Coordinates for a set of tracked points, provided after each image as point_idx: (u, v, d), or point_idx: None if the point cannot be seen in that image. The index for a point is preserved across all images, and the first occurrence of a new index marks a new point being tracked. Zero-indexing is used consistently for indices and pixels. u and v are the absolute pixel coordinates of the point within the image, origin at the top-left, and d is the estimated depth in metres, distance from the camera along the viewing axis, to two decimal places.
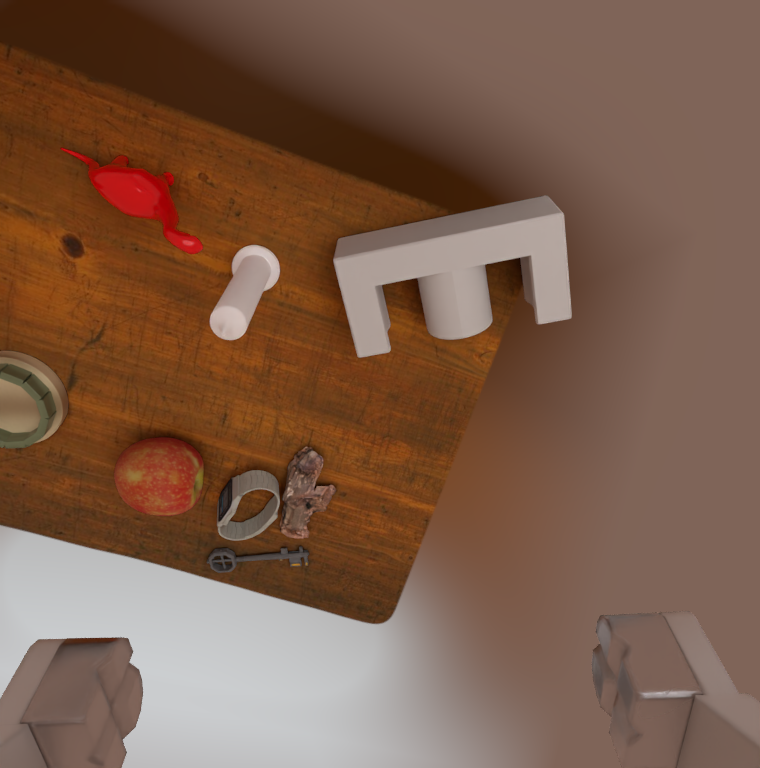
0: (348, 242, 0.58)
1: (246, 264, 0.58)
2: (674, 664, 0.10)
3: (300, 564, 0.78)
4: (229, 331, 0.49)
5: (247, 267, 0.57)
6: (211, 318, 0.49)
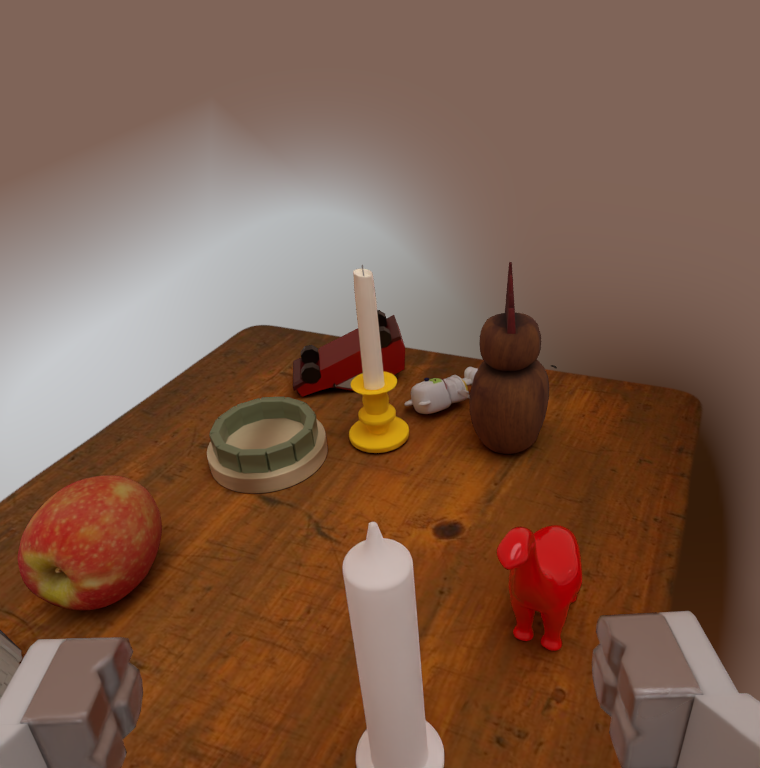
0: None
1: None
2: (674, 664, 0.10)
3: None
4: (369, 546, 0.25)
5: (423, 709, 0.31)
6: (390, 539, 0.27)
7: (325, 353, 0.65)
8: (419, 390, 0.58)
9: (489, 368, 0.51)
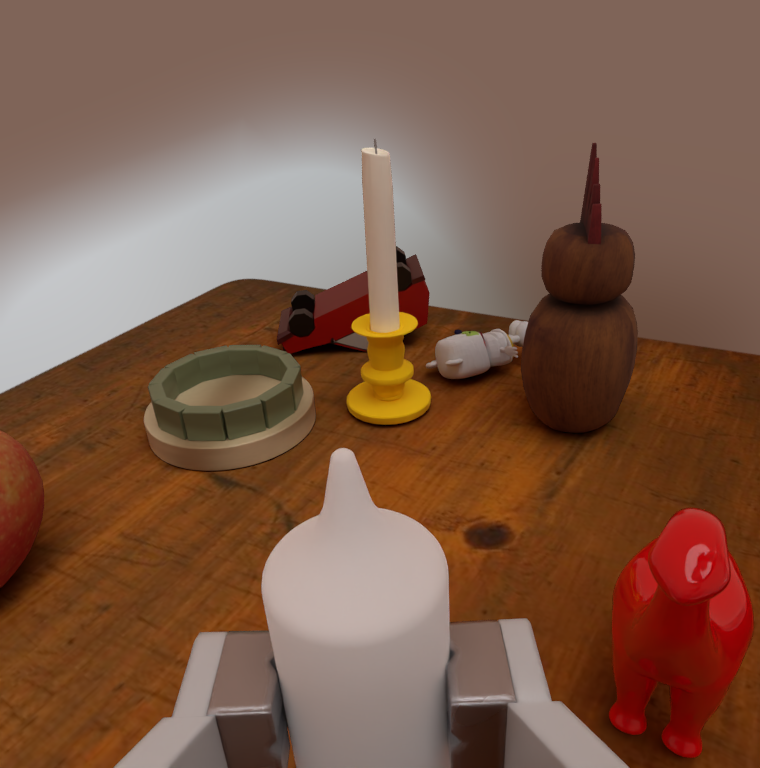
0: None
1: None
2: (496, 672, 0.10)
3: None
4: (332, 517, 0.09)
5: None
6: (393, 512, 0.11)
7: (323, 299, 0.49)
8: (448, 344, 0.42)
9: (554, 302, 0.35)
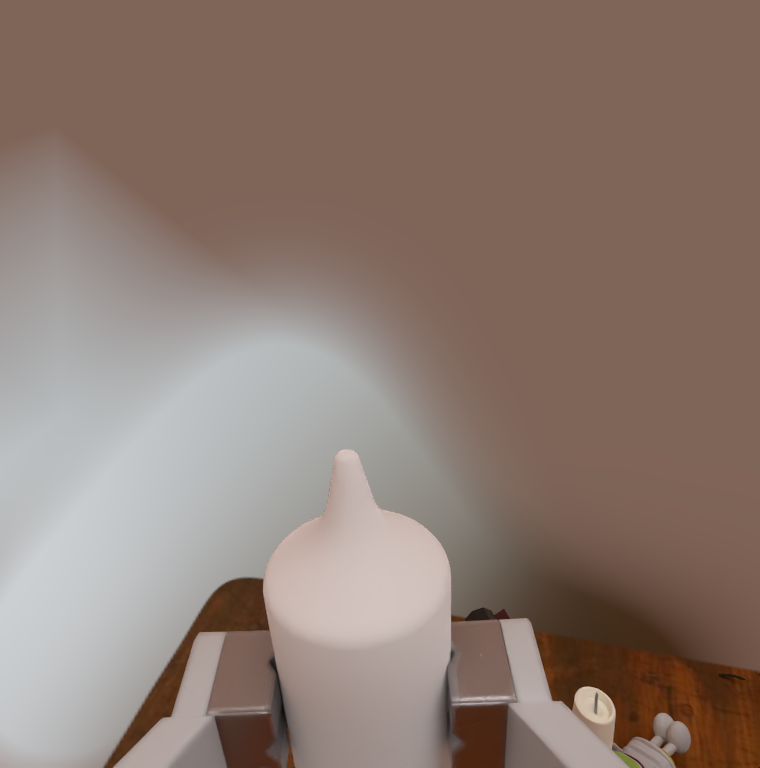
0: None
1: None
2: (496, 672, 0.10)
3: None
4: (335, 518, 0.09)
5: None
6: (395, 513, 0.11)
7: None
8: None
9: None
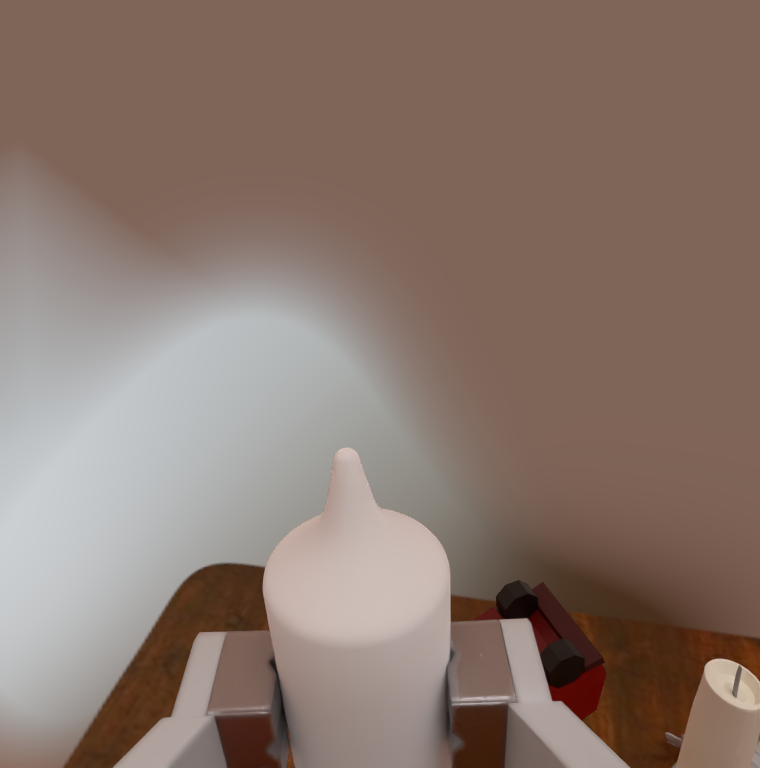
0: None
1: None
2: (496, 672, 0.10)
3: None
4: (335, 516, 0.09)
5: None
6: (395, 512, 0.11)
7: None
8: None
9: None
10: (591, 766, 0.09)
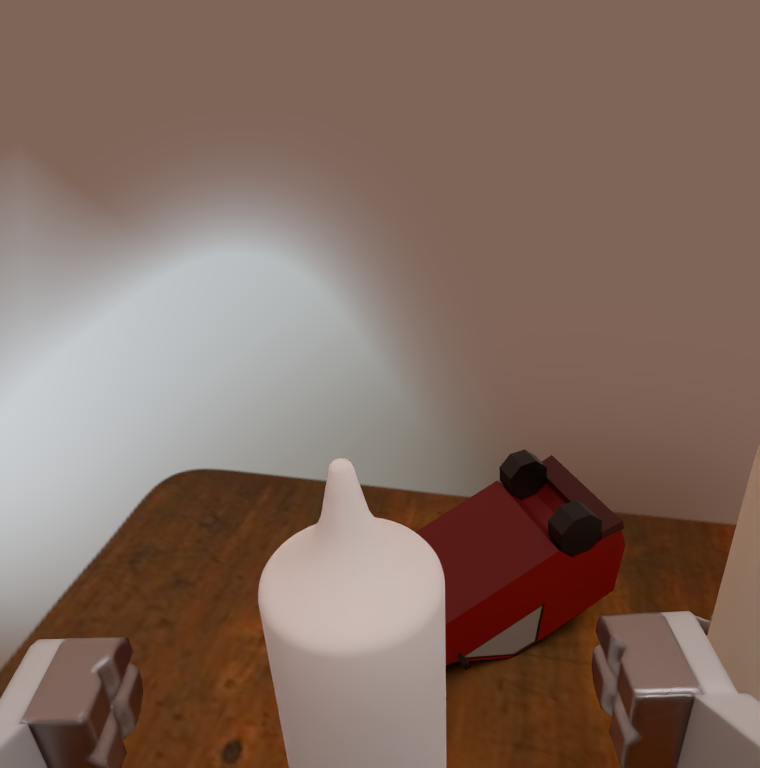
0: None
1: None
2: (674, 664, 0.10)
3: None
4: (329, 527, 0.09)
5: None
6: (390, 521, 0.11)
7: None
8: None
9: None
10: None
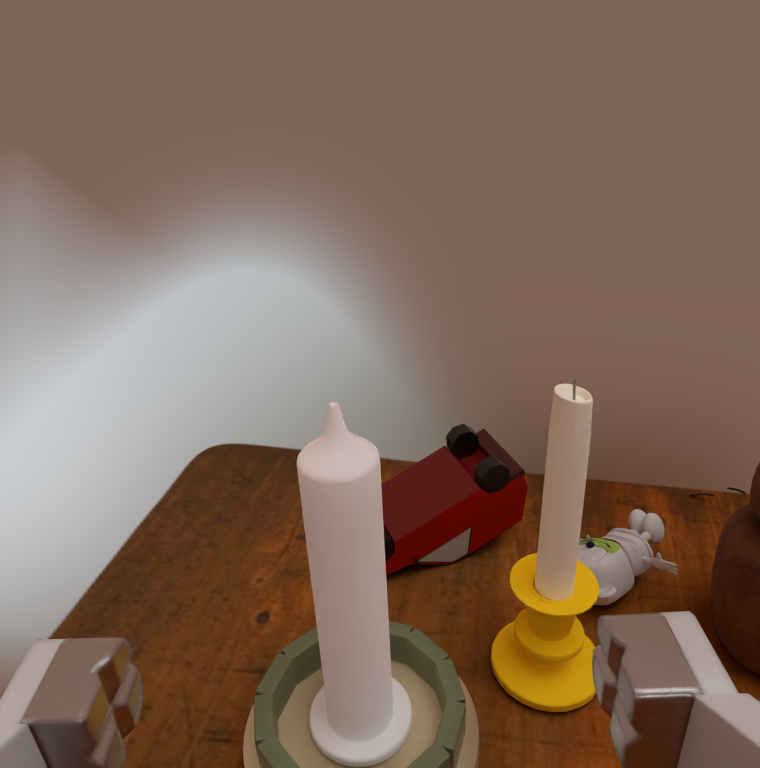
0: None
1: (390, 663, 0.27)
2: (674, 664, 0.10)
3: None
4: (328, 431, 0.22)
5: (389, 655, 0.26)
6: None
7: (386, 503, 0.39)
8: (592, 569, 0.34)
9: None
10: None
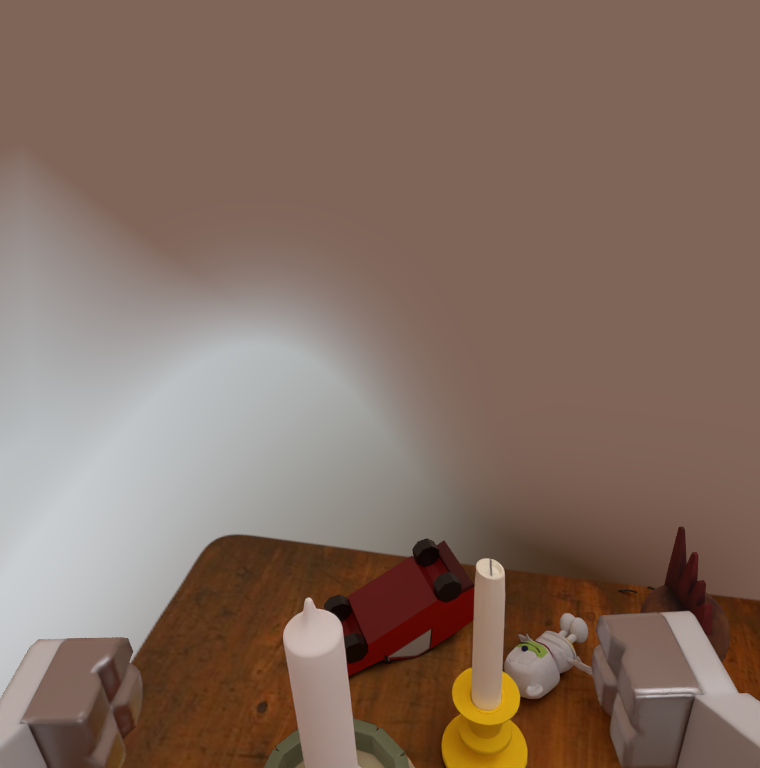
0: None
1: (357, 764, 0.36)
2: (674, 664, 0.10)
3: None
4: (305, 618, 0.30)
5: (355, 760, 0.35)
6: (327, 611, 0.32)
7: (362, 608, 0.48)
8: (524, 671, 0.43)
9: None
10: None
